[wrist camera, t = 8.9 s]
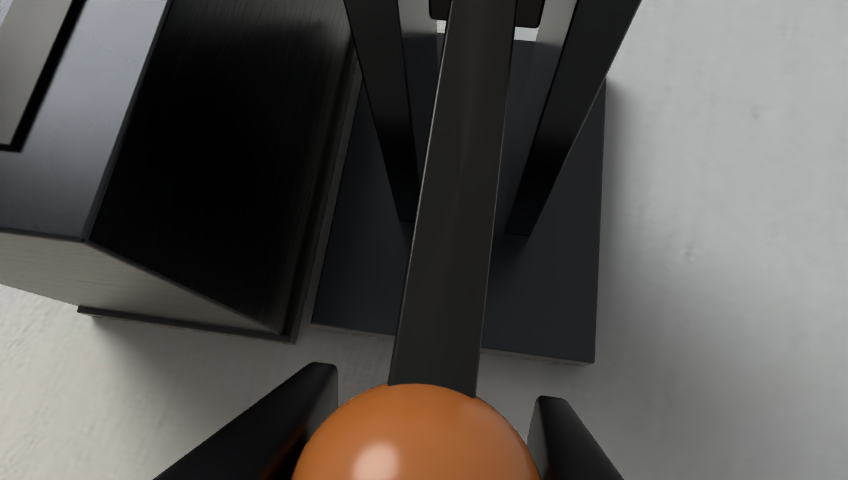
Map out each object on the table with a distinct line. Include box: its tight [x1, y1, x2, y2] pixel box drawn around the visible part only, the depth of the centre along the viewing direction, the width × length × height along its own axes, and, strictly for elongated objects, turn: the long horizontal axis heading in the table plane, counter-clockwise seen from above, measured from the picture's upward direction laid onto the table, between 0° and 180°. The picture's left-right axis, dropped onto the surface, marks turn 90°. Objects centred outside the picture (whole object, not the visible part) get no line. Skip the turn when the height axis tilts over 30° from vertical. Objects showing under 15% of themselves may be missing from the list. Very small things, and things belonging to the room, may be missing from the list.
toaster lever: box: [289, 0, 546, 480], centre depth 8 cm, size 13×3×3 cm, turn 172°
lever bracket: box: [311, 0, 642, 367], centre depth 15 cm, size 13×10×14 cm
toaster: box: [0, 0, 358, 345], centre depth 17 cm, size 14×8×12 cm, turn 172°
